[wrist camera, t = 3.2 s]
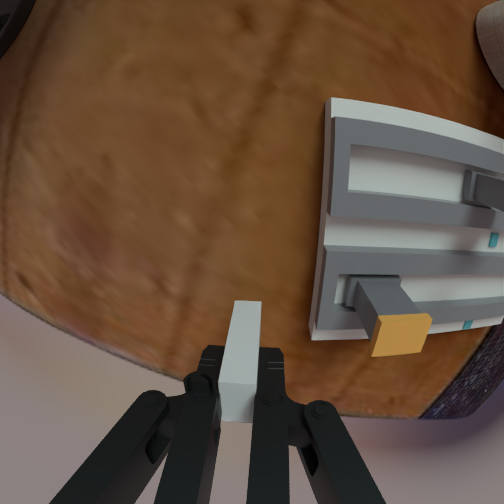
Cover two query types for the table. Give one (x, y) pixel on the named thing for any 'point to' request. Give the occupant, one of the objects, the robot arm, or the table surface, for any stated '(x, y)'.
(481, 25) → the planter
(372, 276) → the fader
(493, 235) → the console
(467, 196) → the fader
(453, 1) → the table surface
